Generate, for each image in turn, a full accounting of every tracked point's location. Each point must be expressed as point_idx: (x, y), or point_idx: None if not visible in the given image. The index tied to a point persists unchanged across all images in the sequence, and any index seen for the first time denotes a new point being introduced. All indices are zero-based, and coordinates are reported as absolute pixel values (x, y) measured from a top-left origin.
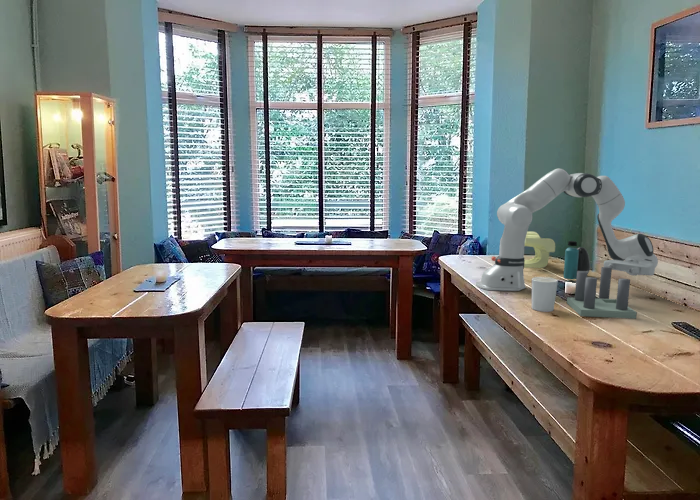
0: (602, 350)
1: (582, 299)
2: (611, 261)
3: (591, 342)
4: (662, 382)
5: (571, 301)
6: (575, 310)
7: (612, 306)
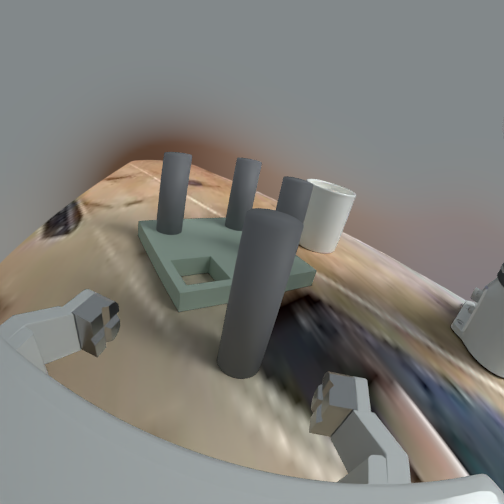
0: (189, 178)
1: None
2: (433, 500)
3: (202, 184)
4: (149, 162)
5: None
6: None
7: (190, 237)
